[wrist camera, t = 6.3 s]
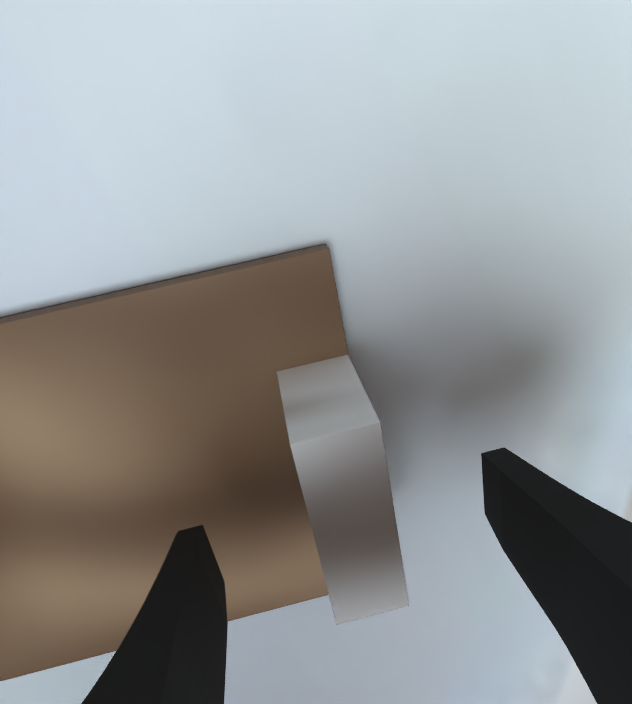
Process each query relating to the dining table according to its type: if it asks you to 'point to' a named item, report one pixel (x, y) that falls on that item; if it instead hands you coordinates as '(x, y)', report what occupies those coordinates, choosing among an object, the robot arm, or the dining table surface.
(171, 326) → the brown wooden flat board
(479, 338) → the dining table surface
